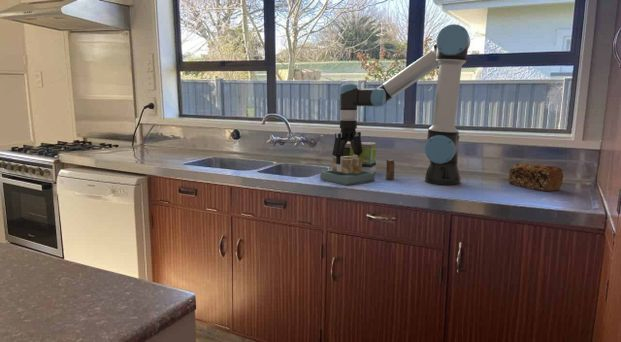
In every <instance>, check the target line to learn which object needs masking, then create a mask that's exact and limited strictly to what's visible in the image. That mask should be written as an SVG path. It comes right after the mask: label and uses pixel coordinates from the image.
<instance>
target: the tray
mask: <svg viewBox="0 0 621 342" xmlns="http://www.w3.org/2000/svg"><path fill="white" fill-rule="evenodd" d="M375 174H376V172H374V173H371V172H366V171H362V172H360V173H358V174H356V173H349V174H346V173H341V172H336V171H333V169H332V170H331V169H330V170H322V171H320V180H322V181H326V182H329V183H334V184H338V183H339V185H344V186H347V187H348V186H353V185H359V184H365V183H371V182H375Z"/></svg>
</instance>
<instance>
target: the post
mask: <svg viewBox="0 0 621 342" xmlns="http://www.w3.org/2000/svg"><path fill="white" fill-rule="evenodd" d="M385 172H386V175H385V178H386V180H389V181H390V180H394V179H395V159H386V171H385Z"/></svg>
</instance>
